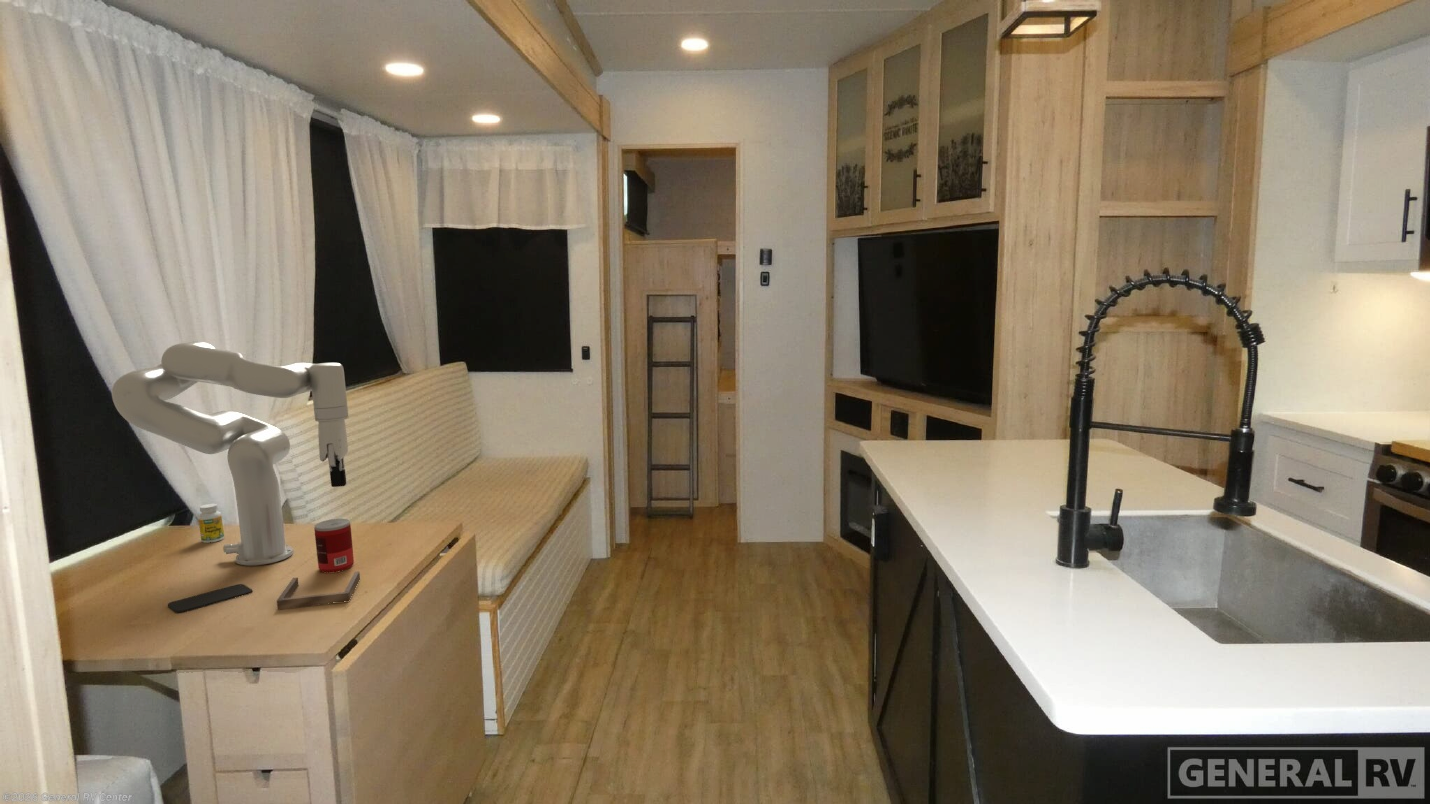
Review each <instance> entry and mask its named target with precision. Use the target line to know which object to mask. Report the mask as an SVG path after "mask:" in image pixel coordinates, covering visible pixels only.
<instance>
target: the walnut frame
mask: <svg viewBox="0 0 1430 804" xmlns="http://www.w3.org/2000/svg"><path fill="white" fill-rule="evenodd" d="M360 576H361V574H360V571H354V572H353V574H352V576H351V578H350V580H349V582H348V584H347V586H346V588H345V590H344V591H341V592H330V593H321V594H320V593H319V594H311V595H301V596H293V595H294V594H295V592H296V591H297V589H298V588H299V587H300V586H299V577H292V579H291V580H290V581H289V582H288V584H287V585H286V586H285V588H284V590H283V591H282V592H281V594H280V595H279V597H278V598H277V599H276V606H277V607H276V608H277V610H278V611H279V610H287V609H297V608H298V609H299V608H305V607H314V606H313V605H316V606H319V605H318V604H326V605H329V604H328V603H333V602H344V601H349V600H350V601H351V599H352V597H353V595H354V593H355V591H356V589H355V588H357V587H358V585H359V583H360V581H359V580H361V577H360ZM358 582H359V583H358ZM357 584H358V585H357ZM356 586H357V587H356ZM352 594H353V595H352ZM292 596H293V597H292ZM351 596H352V597H351ZM350 598H351V599H350ZM350 601H349V602H350ZM344 603H345V602H344Z"/></svg>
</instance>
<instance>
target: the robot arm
mask: <svg viewBox="0 0 1430 804" xmlns="http://www.w3.org/2000/svg"><path fill="white" fill-rule="evenodd" d="M160 360H161V361H160V362H161V363H160V364H159V365H157V366H153V367H149V368H144V369H137V370H133V371H130V372H127V373H125V374H123V375H122V376H120V377H118V379H116V381H115V382H114V383H113V385H112V387H111V399H112V402H113V405H114V406H115V409H116V410H117V412H118V413H119V415H120V416H122V418H123V419H125V420H126V422H128V423H130V424H131V425H133V426H135V427H137V428H138V429H141V430H144V431H147V432H149V433H151V434H154V435H157V436H160V437H162V438H165V439H166V440H169V441H172V442H174V443H177V444H178V445H179V444H180V445H182V446H184V447H186V448H190V449H191V450H194V451H198V452H199V453H202V454H205V455H216V454H220V453H222V452H224V451H227V454H226V455H227V457H226V458H227V463H228V467H229V470H230V474H231V477H232V482H233V487H234V493H235V500H236V508H237V518H238V525H239V534H240V541H239V542H237V543H230V544H229V543H228V544H227V543H226V544H224V545H223V546H222V547H223V548H222V549H223V553H225V554H226V555H232V554H236V557H235V562H236V563H237V564H238V565H241V566H252V567H253V566H261V565H262V566H263V565H267V564H268V565H269V564H274V563H277V562H280V561H283V560H285V559H288V558H289V557H291V556H292V555H294V547H292V546H290V545H286V538H285V537H286V535H285V527H284V519H283V518H284V517H283V508H282V500H281V492H280V484H279V481H278V477H277V474H276V472H275V469H274V465H275V464H277V463H279V462H281V461H282V460H284V459H285V458H286V457H287V455H288V454H289V452H290V448H291V443H290V440H289V437H288V436H287V434H286V433H285V432H284V431H283V430H281V429H280V428H278V427H276V426H273V425H271V424H268V423H267V422H264V421H261V420H259V419H256V418H253V417H251V416H249V415H246V414H243V413H240V412H237V411H232V410H220V411H217V412H214V413H209V414H208V413H203V412H199V411H197V410H193V409H191V408H188V407H187V406H184V405H181V404H177V403H173V402H169V401H166V400H170V399H173V398H176V397H177V396H179V395H181V394H182V393H183V392H185V391H186V390H188V389H189V388H191V387H193V386H194V385H196V384H197V383H207V384H212V385H220V386H223V387H231V388H233V389H234V390H238V391H241V392H244V393H248V394H252V395H256V396H261V397H262V396H264V397H271V398H278V399H279V398H280V399H288V398H292V397H295V396H297V395H301V394H304V393H307V392H311V395H312V404H313V413H314V422H318V427H317V428H318V430H317V431H318V432H317V433H318V435H317V436H318V447H319V448H318V450H319V460H320V461H321V462H322V463H323V462H325V461H328V466H329V475H330V476H329V478H330V486H331V487H332V488H337V487H345V486H346V485H347V476H346V469H345V456H346V455H347V454H348V450H349V447H348V446H349V445H348V436H347V427H346V419H349V410H348V408H349V407H348V398H347V388H346V380H345V378H346V377H345V371H344V366H343V364H341V363H339V362H321V363H309V362H293V363H290V364H286V365H282V366H279V365H277V366H276V365H272V364H271V365H269V364H264V363H258V362H253V361H250V360H247V359H245V357H244V356H243V354H242V353H240V352H238V351H234V350H233V351H232V350H228V349H220V348H216V347H214V346H213V345H212V344H210V343H207V342H205V341H198V340H197V341H189V342H183V343H177V344H173V345H171V346H170V347H168V348H167V349H165V351H164V352H163V353H162V356H161V359H160Z"/></svg>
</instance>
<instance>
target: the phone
mask: <svg viewBox="0 0 1430 804" xmlns="http://www.w3.org/2000/svg"><path fill="white" fill-rule="evenodd" d="M249 593H250V594H252V593H253V589H252V588H250V587H249V586H247V585H246V584H243V583H238V584H237V583H236V584H233V585H230V586H225V587H221V588H218V589H215V590H212V591H207V592H204V593H200V594H196V595H192V596H188V597H185V598H182V599H181V598H180V599H178V600H174V601H170V602H168V603H167V608H169V610H171V611H172V612H173V613H175V614H184V613H188V612H190V611H194V610H198V609H203V608H205V607H207V606H212V605H215V604H219V603H222V602H225V601H229V600H233V599H236V598H239V596H240V597H242V595H243V596H247V595H249ZM235 597H236V598H235ZM187 611H188V612H187Z"/></svg>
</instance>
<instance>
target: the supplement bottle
mask: <svg viewBox="0 0 1430 804" xmlns="http://www.w3.org/2000/svg"><path fill="white" fill-rule="evenodd" d="M218 509H219V508H218V504H217V503H207V504H202V505H201V506H199V512H200V514H198V517H197V520H198V527H199V534H200V535H199V536H200V539H201V542H202V543H203V544H209V543H210V542H211V543H217V542H219V541H222V540H223V539H225V532H224V524H223V516H222V515H223V514H222V513H221V512H220V511H218Z"/></svg>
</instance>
